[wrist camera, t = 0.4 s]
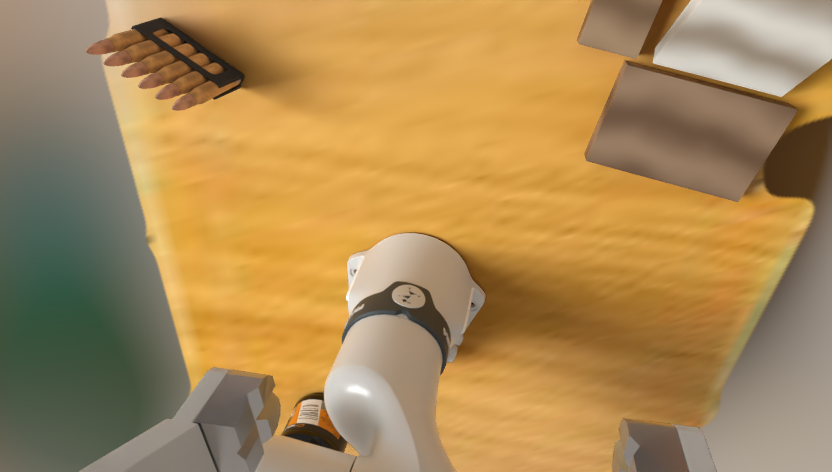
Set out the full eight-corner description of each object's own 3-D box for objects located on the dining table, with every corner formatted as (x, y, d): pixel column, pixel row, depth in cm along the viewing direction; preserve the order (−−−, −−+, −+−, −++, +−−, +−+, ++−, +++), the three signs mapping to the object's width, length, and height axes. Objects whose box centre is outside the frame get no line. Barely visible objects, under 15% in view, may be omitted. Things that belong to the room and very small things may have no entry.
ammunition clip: (245, 75, 57) (184, 107, 47) (239, 88, 58) (178, 122, 48) (160, 17, 55) (78, 36, 45) (155, 31, 56) (74, 54, 46)
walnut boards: (731, 193, 53) (738, 202, 52) (539, 141, 54) (539, 148, 53) (961, -168, 37) (982, -173, 35) (678, -235, 38) (685, -242, 36)
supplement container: (314, 380, 82) (284, 444, 72) (367, 413, 83) (345, 479, 73) (286, 410, 87) (255, 473, 77) (337, 440, 89) (313, 506, 79)
